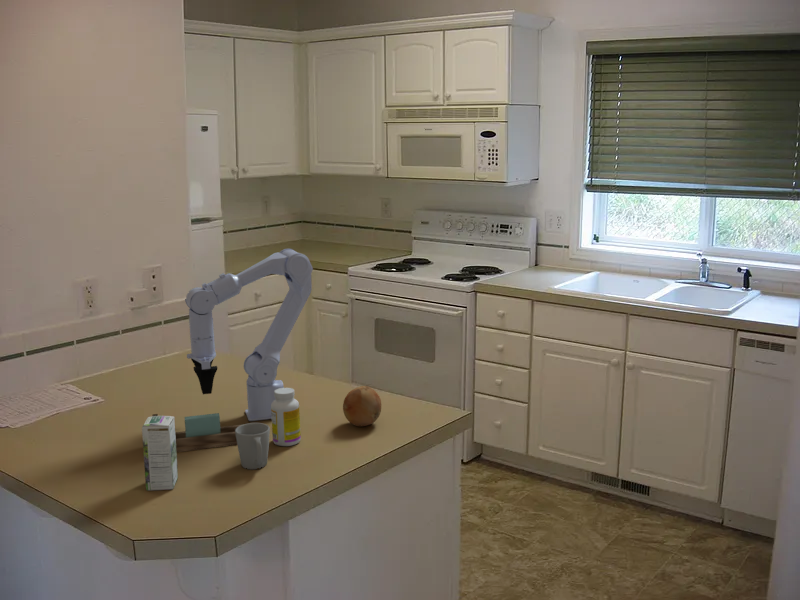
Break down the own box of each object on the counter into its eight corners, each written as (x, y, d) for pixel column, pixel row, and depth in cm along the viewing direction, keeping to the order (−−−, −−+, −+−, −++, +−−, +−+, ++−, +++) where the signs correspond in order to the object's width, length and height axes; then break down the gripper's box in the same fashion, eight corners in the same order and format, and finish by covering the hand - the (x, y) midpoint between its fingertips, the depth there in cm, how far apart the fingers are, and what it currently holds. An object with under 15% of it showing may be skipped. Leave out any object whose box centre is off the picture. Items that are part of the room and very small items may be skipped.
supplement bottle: (305, 438, 203) (303, 387, 200) (293, 448, 196) (291, 396, 194) (280, 435, 205) (278, 385, 202) (267, 445, 199) (265, 393, 196)
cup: (266, 455, 193) (264, 420, 191) (278, 472, 184) (276, 435, 182) (233, 461, 190) (231, 425, 188) (243, 478, 181) (241, 441, 179)
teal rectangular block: (220, 436, 203) (218, 413, 201) (221, 439, 201) (219, 415, 200) (186, 440, 200) (184, 416, 199) (186, 443, 199) (184, 419, 197)
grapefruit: (356, 415, 217) (355, 378, 215) (389, 421, 213) (389, 384, 210) (335, 427, 209) (334, 389, 207) (369, 434, 204) (368, 395, 202)
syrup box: (151, 479, 181) (146, 416, 178) (179, 478, 181) (174, 414, 178) (145, 491, 175) (140, 425, 172) (174, 489, 176) (169, 424, 173)
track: (243, 431, 207) (242, 404, 206) (247, 443, 200) (246, 415, 198) (154, 442, 201) (152, 414, 200) (155, 454, 194) (152, 426, 192)
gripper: (183, 330, 213) (187, 381, 216) (187, 345, 199) (191, 399, 203) (212, 328, 215) (215, 378, 218) (217, 342, 202) (221, 396, 205)
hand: (205, 388), depth 210 cm, fingers open, 7 cm apart
